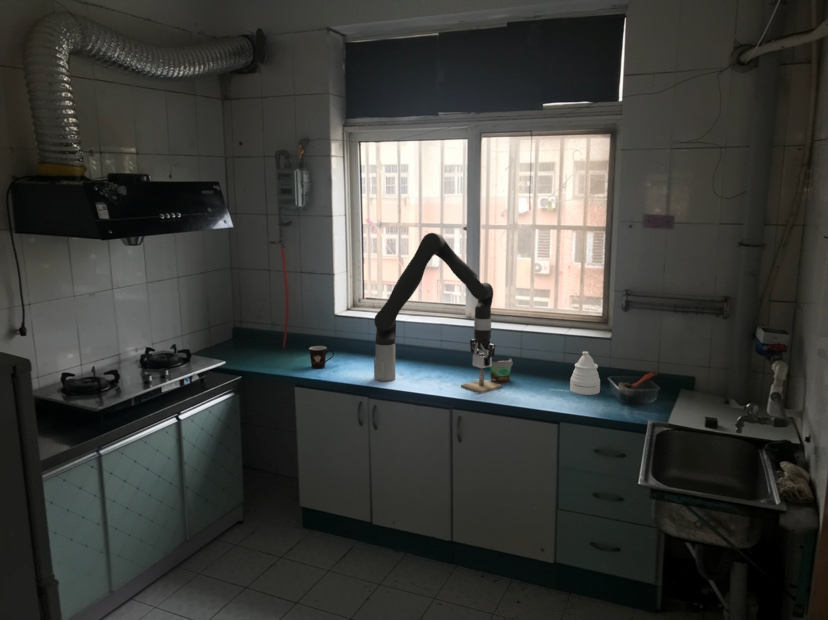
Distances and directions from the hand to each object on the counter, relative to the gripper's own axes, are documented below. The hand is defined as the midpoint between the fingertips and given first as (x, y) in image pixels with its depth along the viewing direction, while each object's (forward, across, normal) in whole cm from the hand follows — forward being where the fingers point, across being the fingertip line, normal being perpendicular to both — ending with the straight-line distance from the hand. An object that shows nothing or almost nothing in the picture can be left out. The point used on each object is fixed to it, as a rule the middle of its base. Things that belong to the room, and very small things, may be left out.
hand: (482, 364), depth 291 cm
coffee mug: (+11, -74, -40) cm, 85 cm away
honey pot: (+11, +32, +33) cm, 47 cm away
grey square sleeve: (+1, 0, 0) cm, 1 cm away
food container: (+11, 0, +14) cm, 18 cm away
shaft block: (+11, 0, 0) cm, 11 cm away
